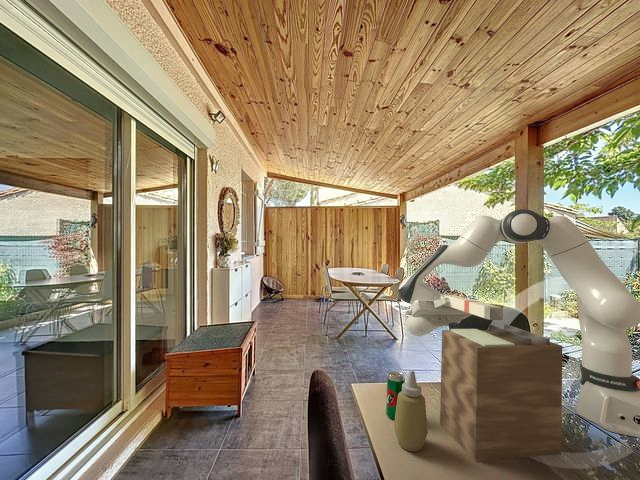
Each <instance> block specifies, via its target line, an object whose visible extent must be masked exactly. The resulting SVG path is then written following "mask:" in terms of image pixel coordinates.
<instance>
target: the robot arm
mask: <svg viewBox="0 0 640 480" xmlns="http://www.w3.org/2000/svg"><path fill="white" fill-rule="evenodd" d="M501 241H502V242H505V243H508V244H513V245H523V244H527V243H530V242H532V241H533V242H536V243H538V244H539V245H540V246H541V247H542V248H543V249H544V250H545V252H546V254H547V255H548V257H549V259H550V260H551V261H552V263H553V265H554V267H555V268H556V269H557V271H558V272H559V273H560V275H561V277H562V278H563V280H564V281H565V282H566V283H567V284H568V285H569V287H570V288H571V289H572V290H573V292H574V293H575V294H576V299H575V300H576V304H577V314H578V321H579V329H580V334H581V336H580V337H581V363H580V365H579V373H578V375H579V379H578V380H579V383H580V387H579V391H578V392H579V393H578V398H577V400H576V403H575V405H574V411H575V412H576V413H577V414H578V415H580V416H581V417H582V418H584V419H586V420H589V421H590V422H593V423H595V424H597V425H598V426H600V427H601V428H603V429H605V430H607V431H608V432H612V433H616V434H621V435H623V436H631V437H634V438H639V439H640V378H639V377H638V376H637V375H634V374H633V347H632V344H631V343H630V340H629V336H628V331H627V329H632V328H635V327H637V326H639V325H640V300H638V299H637V297H635V296H634V295H633V294H632V293H631V291H630V290H629V288H627V287H626V285H625V284H624V283H623V282H622V281H621V280H620V279H619V277H617V275H616V274H615V273H614V272H613V271H612V270H611V269H610V268H609V267H608V266H607V265H606V263H605V262H604V260H602V258H601V257H600V255H599V253H598V252H597V251H596V250H595V248H594V247H593V245H592V244H591V242H590V240H589V239H588V238H587V237H586V236H585V234H584V233H583V231H581V230H580V228H579V227H578V226H577V225H576V224H575V223H574V222H573V221H572V220H571V219H570V218H569V217H567V216H564V215H554V216H550V217H546V216H543V215H542V214H540V213H538V212H537V211H534V210H531V209H526V208H519V209H515V210H512V211H510V212H509V213H507V215H505V216H504V217H503V218H501V219H497V218H494V217H492V216H489V215H479V216H478V217H476V218H475V219H474V220H473V221H472V222H471V223H470V224H469V225H468V226H467V227H466V228H465V229H464V231H463V232H462V233H461V234H460V236H459V237H458V238H457V239H456V240H455V241H454V242H453V243H452V242H451V243H450V244H443V245H441V246H439V247H438V248H437V249H436V250H435V251H434V252H433V253H431V254H430V256H428V257H427V258H426V260H424V261H423V262H422V263H421V264H420V265H419V266H418V267H417V268H416V269H415V270H414V271H413V272H412V273H410V275H409V276H407V277H406V278H404V280H403V281H402V282H401V283H400V284H399V287H398V288H397V292H398V295H399V298H400V300H402V301H403V302H406V303H408V304H410V306H409V308H410V309H407V310H406V312H405V314H406V315H409V316H408V317H407V318H406V321H405V327H406V329H407V331H408V332H409V333H410V334H411V335H412V336H415V337H423V336H425V335H426V336H427V335H428V334H429V333H430V334H431V333H432V332H433V331H434V330H437V329H439V328H442V327H446V326H451V325H457V324H460V323H461V322H462V321H463V320H465V319H466V318H469V317H470V316H472V315H473V314H470V313H467V312H464V311H461V310H458V309H455V308H452V307H449V306H446V305H447V304H449V303H450V300H449V298H447V297H444V298H442V299H441V294H442V293H441V292H440V291H438V290H437V289H435V288H433V287H432V286H430V285H428V284H427V283H425V282H424V281H423V280H424V279H425V278H426V277H427V276H428V275H429V274H430V273H431V272H433V270H434V269H435V268H436V267H439V266H440V265H445V264H447V265H453V266H456V267H462V268H473V267H476V266H479V265H481V264H482V262H483V261H484V260H485V259H486V258H487V257H488V255H489V254H490V252H491V251H492V250H493V248H494V247H495V246H497V244H498V243H500V242H501Z"/></svg>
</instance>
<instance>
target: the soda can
mask: <svg viewBox="0 0 640 480" xmlns="http://www.w3.org/2000/svg"><path fill="white" fill-rule="evenodd" d="M403 383H406V379H405V376H404V373H401V372H399V371H390V372H389V373H388V375H387V377H386V400H385V401H386V405H385V406H386V408H385V414H386V416H387V417H388V418H389V419H390V420H394V421H395V413H396V406H397V398H398V394H399V392H401V391H402V384H403Z"/></svg>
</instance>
